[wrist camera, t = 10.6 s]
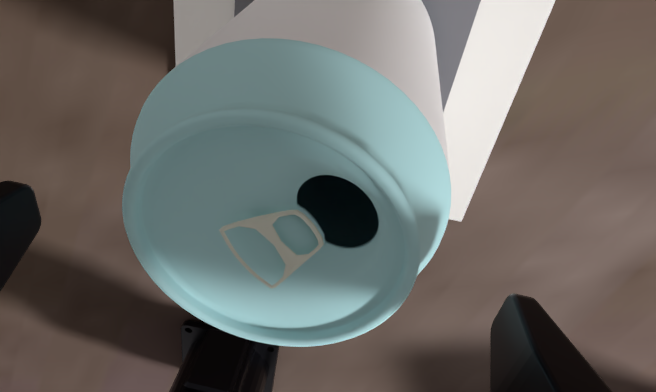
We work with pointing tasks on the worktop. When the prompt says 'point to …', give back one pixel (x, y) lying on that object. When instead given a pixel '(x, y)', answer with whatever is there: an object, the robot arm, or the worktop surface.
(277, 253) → the can
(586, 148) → the worktop surface
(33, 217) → the robot arm
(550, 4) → the dock
